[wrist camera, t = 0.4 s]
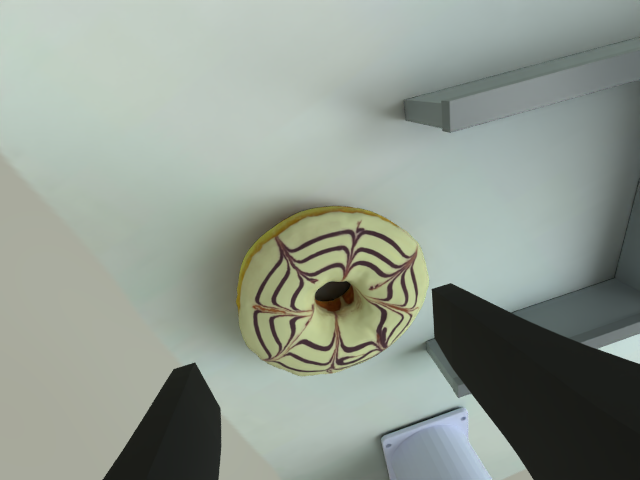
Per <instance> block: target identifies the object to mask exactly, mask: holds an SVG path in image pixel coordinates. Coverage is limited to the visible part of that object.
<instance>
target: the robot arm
mask: <svg viewBox="0 0 640 480" xmlns="http://www.w3.org/2000/svg"><path fill="white" fill-rule="evenodd" d="M432 300H433V318H434V336H435V340H436V342H437V343H438V345H439V347H440V349H441V350H442V352H443V354H444V355H445V357H446V359H447V360H448V362H449V364H450V365H451V367H452V368H453V370H454V371H455V373H456V374H457V375H458V377H459V378H460V379H461V380H462V382H463V383H464V384H465V386H466V387H467V388H468V390H469V391H470V392H471V394H472V395H473V396H474V398H475V399H476V400H477V401H478V403H479V404H480V405H481V407H482V408H483V409H484V411H485V412H486V413H487V414H488V416H489V417H490V418H491V420H492V421H493V422H494V424H495V425H496V426H497V427H498V429H499V430H500V431H501V433H502V434H503V435H504V437H505V438H506V439H507V441H508V442H509V443H510V445H511V446H512V448H513V449H514V450H515V452H516V453H517V455H518V456H519V458H520V459H521V461H522V462H523V464H524V465H525V467H526V468H527V470H528V471H529V473H530V475H531V476H532V478H533V479H534V480H640V364H638V363H635V362H632V361H629V360H626V359H623V358H620V357H618V356H615V355H612V354H609V353H606V352H604V351H601V350H598V349H595V348H592V347H590V346H587V345H585V344H582V343H579V342H577V341H574V340H572V339H570V338H567V337H565V336H562V335H560V334H558V333H555V332H553V331H550V330H548V329H546V328H543V327H541V326H539V325H537V324H534V323H532V322H530V321H528V320H525V319H523V318H521V317H519V316H517V315H515V314H512V313H510V312H508V311H506V310H504V309H502V308H500V307H498V306H496V305H494V304H492V303H490V302H488V301H486V300H484V299H482V298H480V297H478V296H476V295H474V294H472V293H470V292H468V291H466V290H464V289H461V288H459V287H457V286H455V285H453V284H451V283H450V284H447V285H444V286H440V287H437V288H434V289H432ZM381 443H382V447H383V452H384V456H385V461H386V465H387V469H388V474H389V478H390V480H493V479H492V478H491V476H490V475H489V473H488V471H487V470H486V468H485V467H484V465H483V463H482V462H481V460H480V459H479V457H478V455H477V454H476V452H475V451H474V449H473V448H472V446H471V444H470V443H469V441H468V411H467V410H466V409H465V408H459V409H456V410H454V411H451V412H448V413H445V414H442V415H440V416H437V417H434V418H431V419H429V420H426V421H423V422H420V423H417V424H415V425H412V426H409V427H406V428H403V429H401V430H398V431H395V432H392V433H389V434H387V435H384V436H383V437H382V438H381ZM220 455H221V412H220V407H219V405H218V403H217V401H216V399H215V398H214V396H213V394H212V392H211V390H210V389H209V387H208V385H207V383H206V381H205V380H204V378H203V376H202V374H201V372H200V370H199V369H198V367H197V365H196V363H192V364H189V365H186V366H182V367H179V368H176V369H174V370H173V371H172V373H171V374H170V376H169V377H168V379H167V380H166V382H165V384H164V385H163V387H162V389H161V390H160V392H159V393H158V395H157V397H156V398H155V400H154V402H153V403H152V405H151V407H150V408H149V410H148V411H147V413H146V414H145V416H144V418H143V419H142V421H141V423H140V424H139V426H138V427H137V429H136V430H135V432H134V434H133V435H132V437H131V438H130V440H129V441H128V443H127V444H126V446H125V448H124V449H123V451H122V452H121V454H120V455H119V457H118V458H117V460H116V461H115V462H114V464H113V466H112V467H111V468H110V470H109V471H108V473H107V474H106V476H105V477H104V479H103V480H218V477H219V466H220Z"/></svg>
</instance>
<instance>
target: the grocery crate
mask: <svg viewBox="0 0 640 480" xmlns="http://www.w3.org/2000/svg"><path fill="white" fill-rule="evenodd" d="M637 80H640V37H637V38H634V39H630V40H626V41H622V42H619V43H615V44H611V45H608V46H604V47H600V48H596V49H593V50H589V51H585V52H581V53H578V54H574V55H570V56H566V57H563V58H559V59H555V60H551V61H548V62H544V63H540V64H536V65H533V66H529V67H525V68H522V69H518V70H514V71H510V72H507V73H503V74H499V75H495V76H492V77H488V78H484V79H480V80H477V81H473V82H469V83H465V84H462V85H458V86H454V87H451V88H447V89H443V90H439V91H436V92H432V93H428V94H424V95H421V96H417V97H413V98H409V99H406V100H404V104H405V115H406V121H411V122H415V123H420V124H425V125H429V126H434V127H438V128H442V130H443V131H446V132H450V133H451V132H455V131H458V130H462V129H465V128H469V127H472V126H476V125H480V124H483V123H487V122H490V121H494V120H497V119H501V118H505V117H508V116H512V115H515V114H519V113H522V112H526V111H530V110H533V109H537V108H540V107H544V106H547V105H551V104H555V103H558V102H562V101H565V100H569V99H572V98H576V97H580V96H583V95H587V94H590V93H594V92H597V91H601V90H605V89H608V88H612V87H615V86H619V85H622V84H626V83H629V82H633V81H637ZM512 314H515V315H517V316H519V317H521V318H523V319H525V320H528V321H530V322H532V323H534V324H537V325H539V326H541V327H543V328H546V329H548V330H550V331H553V332H555V333H558V334H560V335H562V336H565V337H567V338H570V339H572V340H574V341H577V342H579V343H582V344H585V345H587V346H590V347H592V348H595V349H598V348H600V347H603V346H606V345H609V344H612V343H614V342H617V341H620V340H623V339H626V338H628V337H631V336H634V335H637V334H640V180H639V184H638V188H637V192H636V196H635V200H634V204H633V208H632V211H631V215H630V219H629V223H628V227H627V231H626V235H625V239H624V243H623V247H622V251H621V255H620V259H619V263H618V267H617V270H616V274H615V278H614V279H611V280H608V281H605V282H602V283H599V284H596V285H593V286H590V287H587V288H584V289H581V290H578V291H575V292H572V293H569V294H566V295H563V296H560V297H557V298H554V299H551V300H548V301H545V302H542V303H539V304H536V305H533V306H530V307H527V308H524V309H522V310H519V311H516V312H513V313H512ZM426 346H427V352H428V353H429V355H430V356H431V358H432V359H433V361H434V362H435V363H436V365H437V366H438V368H439V369H440V371H441V372H442V374H443V375H444V377H445V378H446V380H447V381H448V383H449V384H450V385H451V387H452V388H453V391H454V392H455V394H456V395H457V397H458V398H460V397H463V396H465V395H468V394H471V392H470V391H469V390H468V388H467V387H466V386H465V384H464V383H463V382H462V380H461V379H460V378H459V377H458V375H457V374H456V373H455V371H454V370H453V368H452V367H451V365H450V364H449V362H448V360H447V359H446V357H445V355H444V354H443V352H442V350H441V349H440V347H439V345H438V343H437V342H436V340H435V339H432V340H429V341H426Z"/></svg>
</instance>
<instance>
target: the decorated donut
mask: <svg viewBox="0 0 640 480" xmlns="http://www.w3.org/2000/svg"><path fill="white" fill-rule="evenodd" d="M330 281H337V282H343V281H347V282H349V283H350V284H351V286H350V287H349V289H348V290H347V291H346V292H345V294H343V295H342V296H340V297H338V298H336V299H334V300H333V301H319V300H316V299H315V292H316V291H317V290H318V289H319V288H320V287H322V286H323V285H324V284H326V283H327V282H330ZM428 286H429V277H428V272H427V268H426V263H425V260H424V257H423V253H422V250H421V247H420V246H419V244H418V242H417V241H415V240H414V239H413V238H412V236H411V235H409V233H408V232H407V231H405V230H403V229H401V228H400V227H399V226H397V225H396V224H394V223H393V222H391V221H390V220H388V219H386V218H384V217H382V216H380V215H378V214H376V213H373V212H371V211H368V210H364V209H360V208H353V207H346V206H344V207H342V206H329V207H319V208H318V207H317V208H312V209H309V210H305V211H302V212H298V213H296V214H294V215H292V216H291V217H289V218H287V219H285V220H283V221H281V222H280V223H279V224H277V225H276V226H275V227H273V228H272V229H270V230H269V231H267V232H266V233H265V234H264V235H263V236H262V237H260V238H259V239H258V240H257V241H256V242H255V243H254V244H253V246H252V247H251V248H250V249H249V251H248V252H247V254H246V256H245V257H244V259H243V262H242V265H241V269H240V273H239V282H238V287H237V294H238V295H237V299H236V304H237V306H238V316H239V327H240V330H241V333H242V336H243V339H244V341H245V343H246V345H247V346H248V348H249V349H251V350H252V351H253V352H254V353H256V354H257V355H258V357H259V358H260V359H261V360H263V361H265V362H267V363H268V364H270V365H272V366H274V367H277V368H279V369H283V370H286V371H288V372H291V373H293V374H295V375H298V376H309V375H318V374H331V373H336V372H339V371H342V370H344V369H347V368H349V367H351V366H354V365H357V364H360V363H363V362H365V361H367V360H369V359H371V358H372V357H374V356H376V355H378V354H379V353H381V352H382V351H384V350H385V349H387V348H388V347H389V346H390V345H392V344H393V343H394V342H395V341H396V340H397V339H398V338H399V337H400V336H401V335H402V334H403V333H404V332H405V331H406V330H407V329H408V328H409V326H410V325H411V324H412V322H413V321H414V319H415V317H416V316H417V314H418V312H419V311H420V309H421V307H422V305H423V302H424V300H425V297H426V291H427V289H428Z"/></svg>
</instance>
